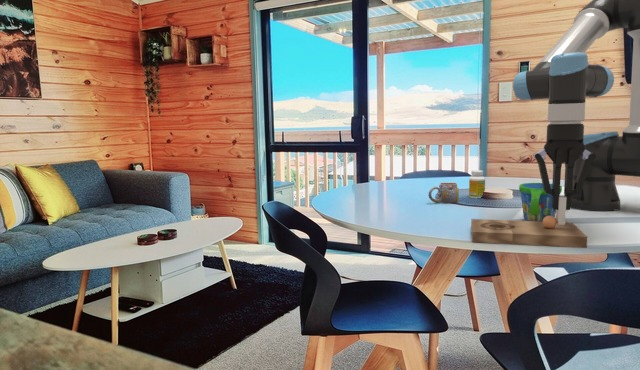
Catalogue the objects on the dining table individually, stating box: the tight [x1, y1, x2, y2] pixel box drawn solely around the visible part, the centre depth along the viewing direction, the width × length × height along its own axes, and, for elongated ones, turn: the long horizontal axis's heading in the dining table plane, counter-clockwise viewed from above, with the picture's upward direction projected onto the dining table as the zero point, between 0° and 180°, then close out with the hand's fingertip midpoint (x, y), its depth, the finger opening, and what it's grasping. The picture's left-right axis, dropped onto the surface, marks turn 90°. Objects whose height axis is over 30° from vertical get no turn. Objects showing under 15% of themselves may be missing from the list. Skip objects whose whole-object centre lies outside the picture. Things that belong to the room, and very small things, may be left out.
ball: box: [543, 216, 557, 228], centre depth 109 cm, size 3×3×3 cm
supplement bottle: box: [468, 169, 486, 199], centre depth 166 cm, size 5×5×10 cm
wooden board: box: [470, 218, 588, 249], centre depth 111 cm, size 24×14×2 cm, turn 73°
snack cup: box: [518, 182, 563, 222], centre depth 126 cm, size 16×10×10 cm
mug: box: [428, 182, 460, 204], centre depth 158 cm, size 12×7×7 cm, turn 114°
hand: (560, 223), depth 109 cm, fingers closed
